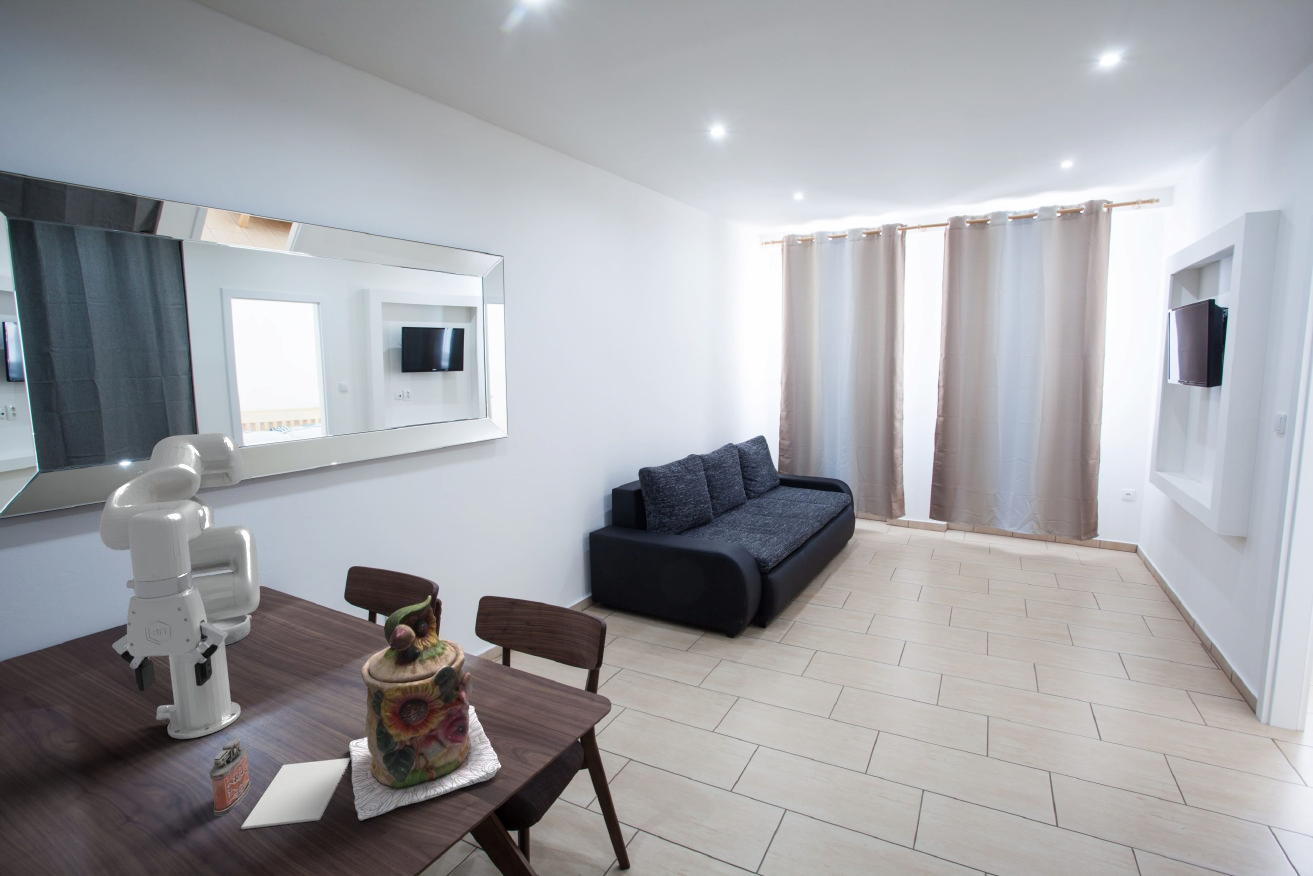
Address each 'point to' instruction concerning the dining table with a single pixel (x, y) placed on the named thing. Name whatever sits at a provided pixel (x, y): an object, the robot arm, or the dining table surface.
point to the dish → (234, 627)
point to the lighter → (230, 777)
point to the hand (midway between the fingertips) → (175, 684)
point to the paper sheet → (298, 793)
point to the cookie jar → (417, 720)
